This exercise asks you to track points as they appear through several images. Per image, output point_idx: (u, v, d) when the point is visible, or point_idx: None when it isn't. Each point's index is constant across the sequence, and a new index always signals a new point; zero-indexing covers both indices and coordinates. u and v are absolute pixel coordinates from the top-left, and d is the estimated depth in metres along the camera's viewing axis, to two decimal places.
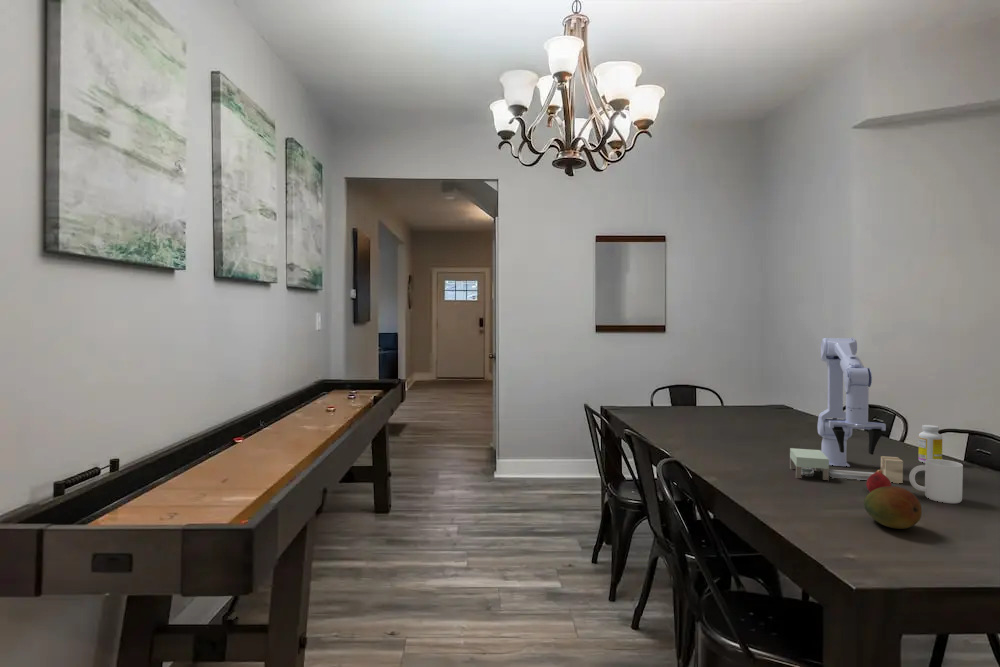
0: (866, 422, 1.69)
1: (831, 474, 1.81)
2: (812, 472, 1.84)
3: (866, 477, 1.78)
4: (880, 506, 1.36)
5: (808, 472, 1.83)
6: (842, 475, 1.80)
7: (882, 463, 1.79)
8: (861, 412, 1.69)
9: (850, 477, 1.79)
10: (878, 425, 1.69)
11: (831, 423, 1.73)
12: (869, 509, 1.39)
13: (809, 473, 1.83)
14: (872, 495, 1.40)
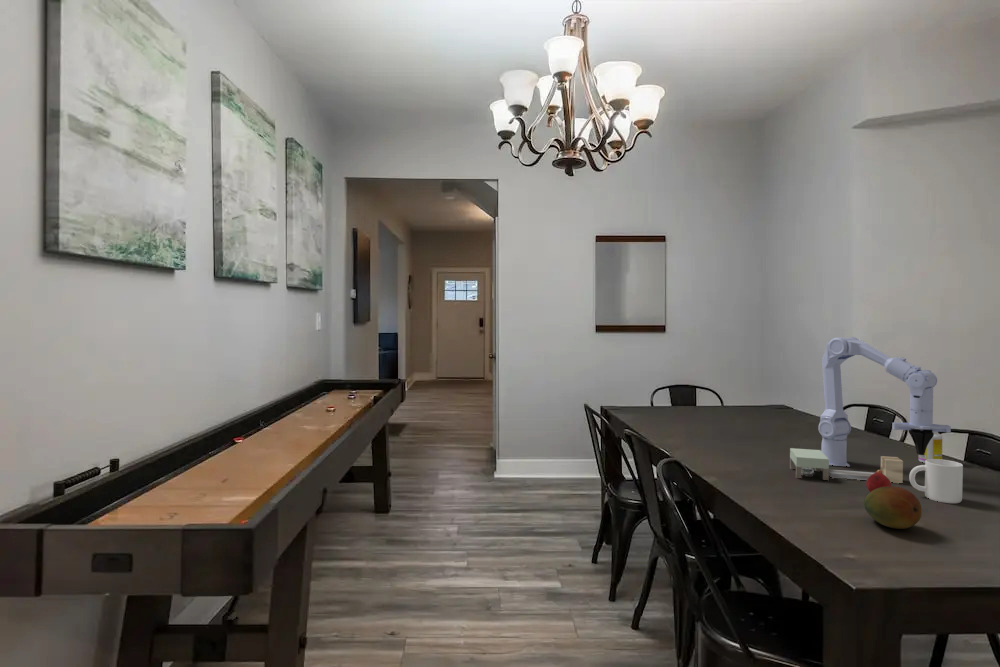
0: (931, 424, 1.73)
1: (831, 474, 1.81)
2: (812, 472, 1.84)
3: (866, 477, 1.78)
4: (880, 506, 1.36)
5: (808, 472, 1.83)
6: (842, 475, 1.80)
7: (882, 463, 1.79)
8: (926, 414, 1.72)
9: (850, 477, 1.79)
10: (943, 427, 1.72)
11: (895, 425, 1.76)
12: (869, 509, 1.39)
13: (809, 473, 1.83)
14: (872, 495, 1.40)
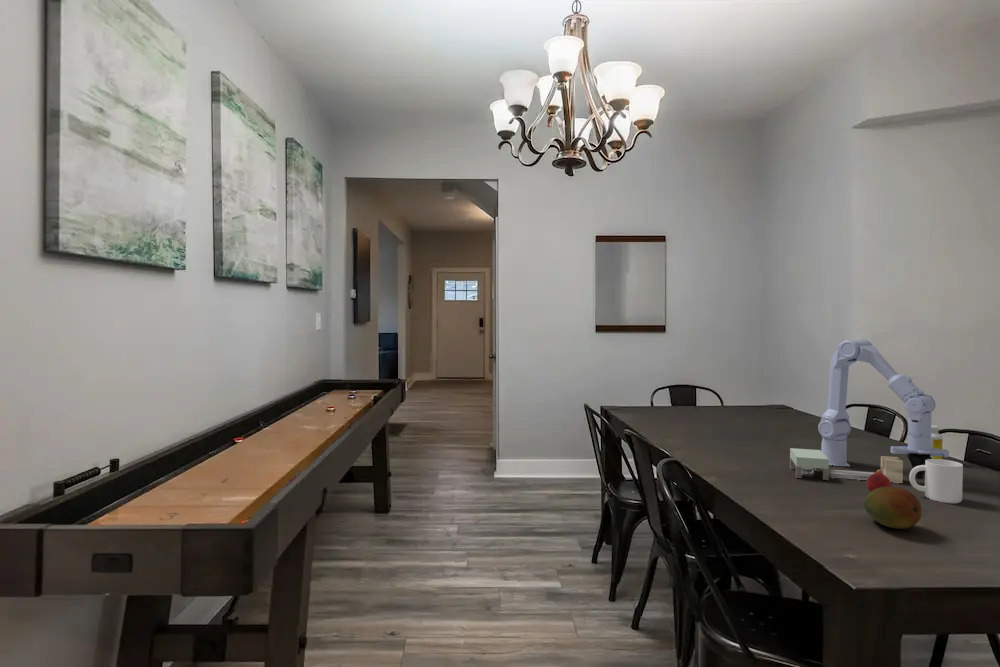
0: (929, 448, 1.73)
1: (831, 474, 1.81)
2: (812, 472, 1.84)
3: (866, 477, 1.78)
4: (880, 506, 1.36)
5: (808, 472, 1.83)
6: (842, 475, 1.80)
7: (882, 463, 1.79)
8: (924, 439, 1.73)
9: (850, 477, 1.79)
10: (941, 451, 1.73)
11: (894, 449, 1.77)
12: (869, 509, 1.39)
13: (809, 473, 1.83)
14: (872, 495, 1.40)
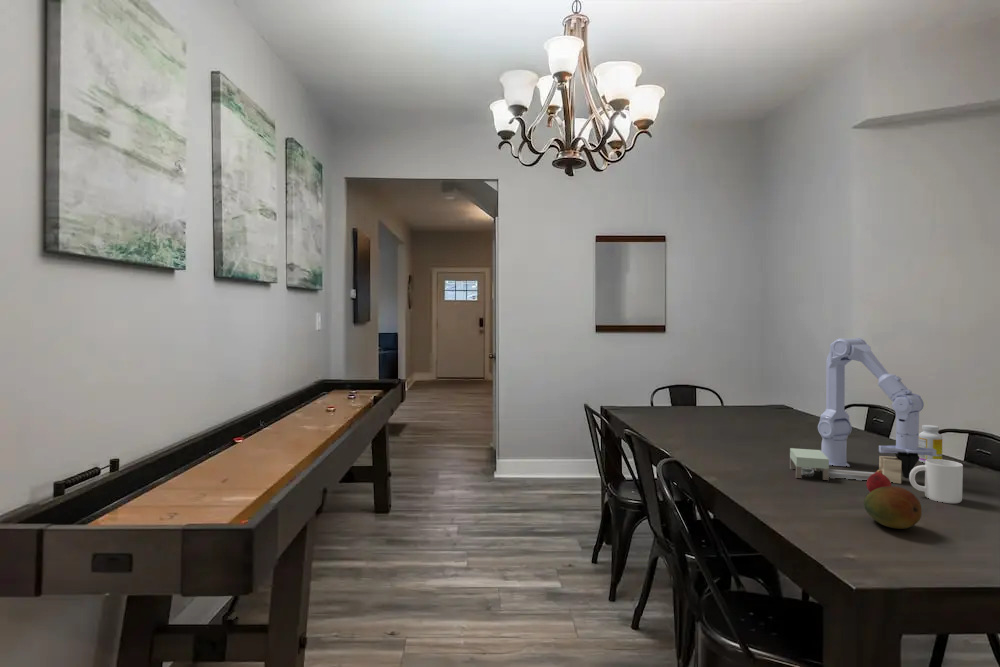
0: (917, 447, 1.74)
1: (830, 474, 1.81)
2: (812, 472, 1.84)
3: (865, 477, 1.78)
4: (880, 506, 1.36)
5: (808, 472, 1.83)
6: (841, 475, 1.80)
7: (881, 463, 1.79)
8: (912, 438, 1.74)
9: (849, 477, 1.79)
10: (929, 451, 1.74)
11: (882, 448, 1.78)
12: (869, 509, 1.39)
13: (809, 473, 1.83)
14: (872, 495, 1.40)
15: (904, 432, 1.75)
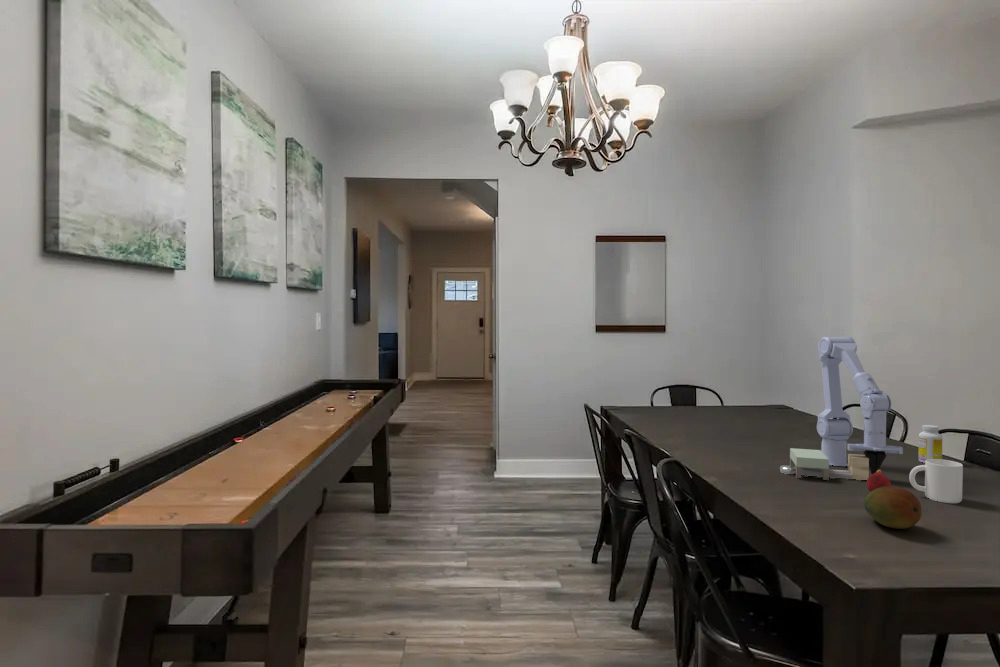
0: (884, 445, 1.77)
1: None
2: (795, 471, 1.85)
3: (833, 474, 1.81)
4: (880, 506, 1.36)
5: (791, 471, 1.85)
6: (810, 473, 1.83)
7: (849, 461, 1.82)
8: (879, 436, 1.76)
9: (818, 474, 1.82)
10: (895, 449, 1.76)
11: (850, 446, 1.80)
12: (869, 509, 1.39)
13: (792, 472, 1.85)
14: (872, 495, 1.40)
15: (868, 430, 1.78)
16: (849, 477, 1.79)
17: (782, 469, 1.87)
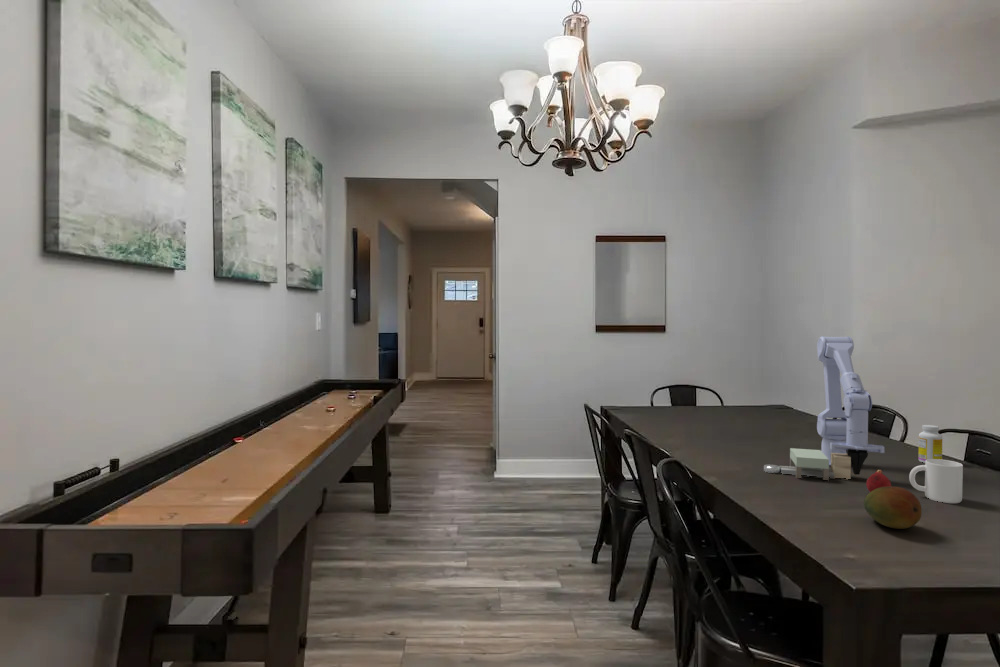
0: (865, 444, 1.78)
1: (782, 470, 1.85)
2: (779, 470, 1.87)
3: (816, 473, 1.82)
4: (880, 506, 1.36)
5: (775, 470, 1.86)
6: (793, 471, 1.84)
7: (832, 459, 1.84)
8: (861, 435, 1.78)
9: None
10: (877, 448, 1.78)
11: (832, 445, 1.82)
12: (869, 509, 1.39)
13: (776, 471, 1.86)
14: (872, 495, 1.40)
15: (848, 428, 1.80)
16: (831, 476, 1.81)
17: (766, 468, 1.88)
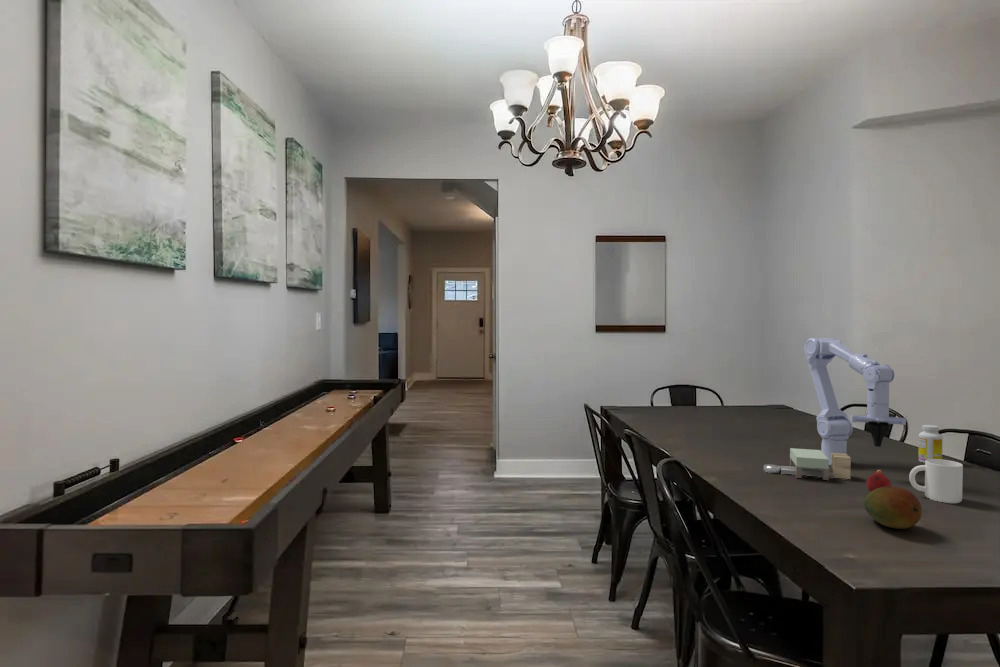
0: (886, 416, 1.78)
1: (782, 470, 1.85)
2: (779, 470, 1.87)
3: (815, 473, 1.82)
4: (880, 506, 1.36)
5: (775, 470, 1.86)
6: (793, 471, 1.84)
7: (831, 460, 1.84)
8: (882, 407, 1.78)
9: None
10: (898, 419, 1.78)
11: (853, 418, 1.82)
12: (869, 509, 1.39)
13: (776, 470, 1.86)
14: (872, 495, 1.40)
15: (872, 401, 1.79)
16: (831, 476, 1.81)
17: (766, 468, 1.88)
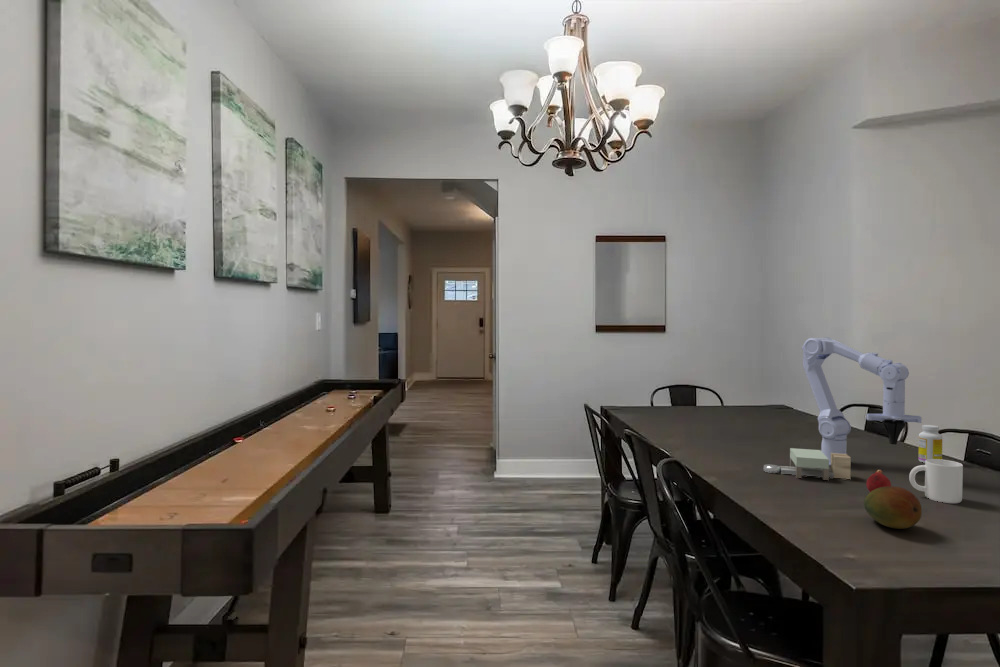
0: (902, 414, 1.80)
1: (782, 470, 1.85)
2: (779, 470, 1.87)
3: (815, 473, 1.82)
4: (880, 506, 1.36)
5: (775, 470, 1.86)
6: (793, 471, 1.84)
7: (831, 460, 1.84)
8: (898, 405, 1.80)
9: None
10: (914, 417, 1.80)
11: (869, 416, 1.84)
12: (869, 509, 1.39)
13: (776, 470, 1.86)
14: (872, 495, 1.40)
15: (892, 400, 1.80)
16: (831, 476, 1.81)
17: (766, 468, 1.88)
